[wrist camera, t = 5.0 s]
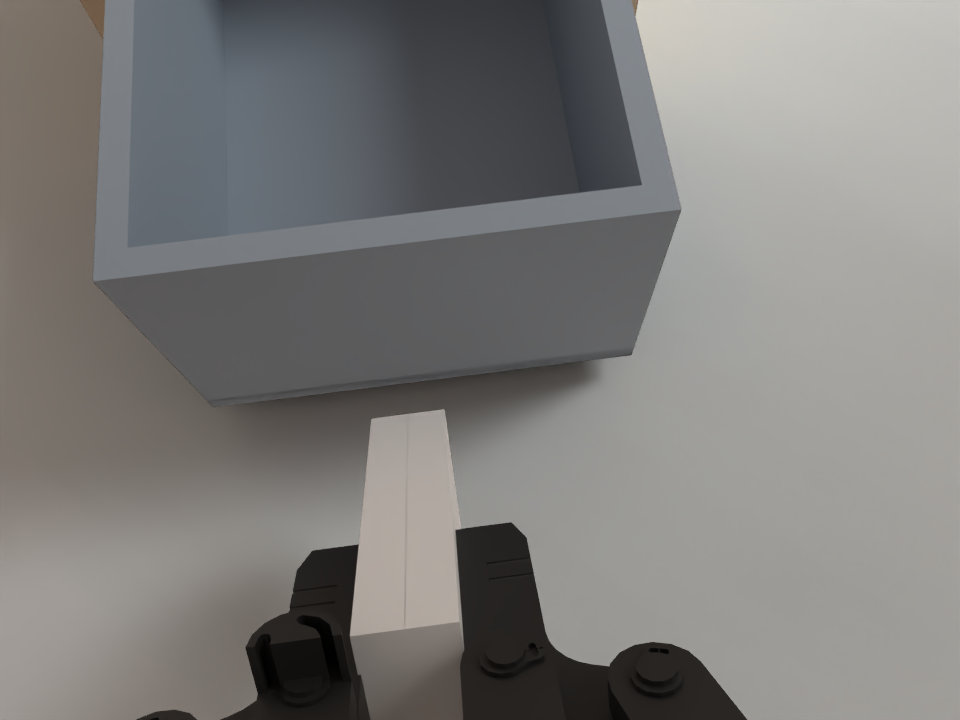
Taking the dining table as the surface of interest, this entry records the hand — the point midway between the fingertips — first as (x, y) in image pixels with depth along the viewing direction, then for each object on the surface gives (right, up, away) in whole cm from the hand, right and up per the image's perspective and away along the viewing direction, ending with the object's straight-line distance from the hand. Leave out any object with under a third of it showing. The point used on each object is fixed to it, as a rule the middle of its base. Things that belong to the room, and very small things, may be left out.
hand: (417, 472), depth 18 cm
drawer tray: (-1, +12, +9) cm, 15 cm away
